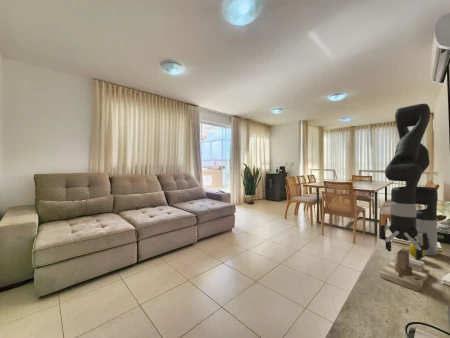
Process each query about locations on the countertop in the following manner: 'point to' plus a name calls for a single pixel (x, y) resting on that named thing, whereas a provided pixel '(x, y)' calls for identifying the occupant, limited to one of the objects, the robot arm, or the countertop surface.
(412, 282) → the tuner board
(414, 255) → the lemon
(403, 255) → the peg
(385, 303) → the countertop surface
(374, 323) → the countertop surface
